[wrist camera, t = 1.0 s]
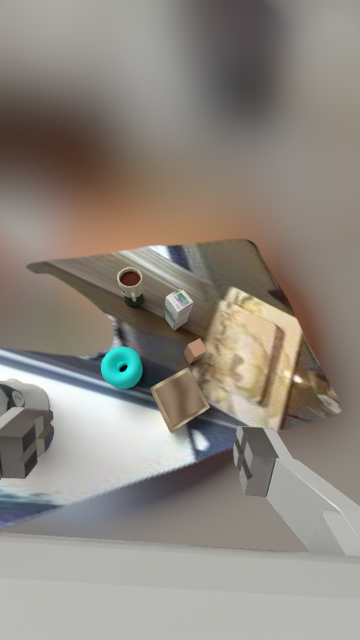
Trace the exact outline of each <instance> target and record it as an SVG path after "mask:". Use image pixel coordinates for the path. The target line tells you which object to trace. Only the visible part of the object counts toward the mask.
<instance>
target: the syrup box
mask: <svg viewBox="0 0 360 640" xmlns="http://www.w3.org/2000/svg"><path fill="white" fill-rule="evenodd" d="M192 305H193V301H192V300H191V299H190V297H189V296H188V295H187V294H186V293H185V291H184V290H183V289H182V288H180V289H178V290H176V291H174V292H173V293H171V294H170V295H168V296H167V297H166V302H165V314H164V319H165V320H166V321H167V322H168V324H169V325H170V326H171V328H172V329H173V330H176V329H177V328H179V327H180V326H181V325H183V324H184V323H186V322H187V319H188V316H189V313H190V311H191V308H192Z"/></svg>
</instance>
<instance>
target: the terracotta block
mask: <svg viewBox="0 0 360 640" xmlns="http://www.w3.org/2000/svg"><path fill="white" fill-rule="evenodd" d="M206 352H207V349H206V348H205V346H204V344H203V343H202V341H201V339H198V340H196V341H194V342H192V343H190V344H188V345H187V347H186V349H185V351H184V355H185V356H186V358H187V360H188V362H189V363H190V364H191V363H193V362H195V361H197V360H198V359H200V358H201V357H202V356H203V355H204V354H205V353H206Z"/></svg>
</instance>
